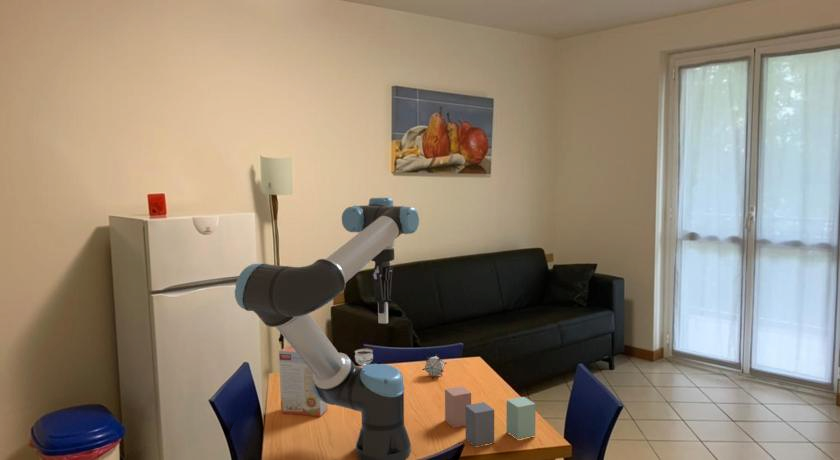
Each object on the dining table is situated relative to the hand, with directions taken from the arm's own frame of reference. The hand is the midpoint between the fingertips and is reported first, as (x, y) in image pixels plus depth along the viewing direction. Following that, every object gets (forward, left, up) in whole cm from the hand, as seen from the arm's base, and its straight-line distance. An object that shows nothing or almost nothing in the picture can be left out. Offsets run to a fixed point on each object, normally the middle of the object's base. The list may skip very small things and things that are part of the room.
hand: (383, 322), depth 179 cm
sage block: (-1, -43, -31) cm, 53 cm away
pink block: (+3, -23, -31) cm, 38 cm away
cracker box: (-3, +27, -31) cm, 41 cm away
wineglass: (+26, +18, -31) cm, 44 cm away
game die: (+40, -5, -31) cm, 51 cm away
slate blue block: (-8, -32, -31) cm, 45 cm away
